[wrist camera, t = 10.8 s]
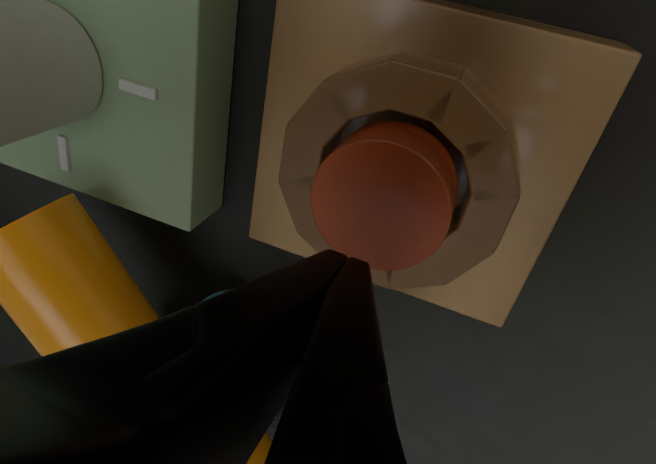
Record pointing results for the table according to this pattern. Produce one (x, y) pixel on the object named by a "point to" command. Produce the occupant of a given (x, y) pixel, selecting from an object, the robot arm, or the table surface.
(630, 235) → the table surface
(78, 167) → the dial panel
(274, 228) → the button block
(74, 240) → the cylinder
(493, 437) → the table surface
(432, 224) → the top button
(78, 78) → the dial
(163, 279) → the table surface
